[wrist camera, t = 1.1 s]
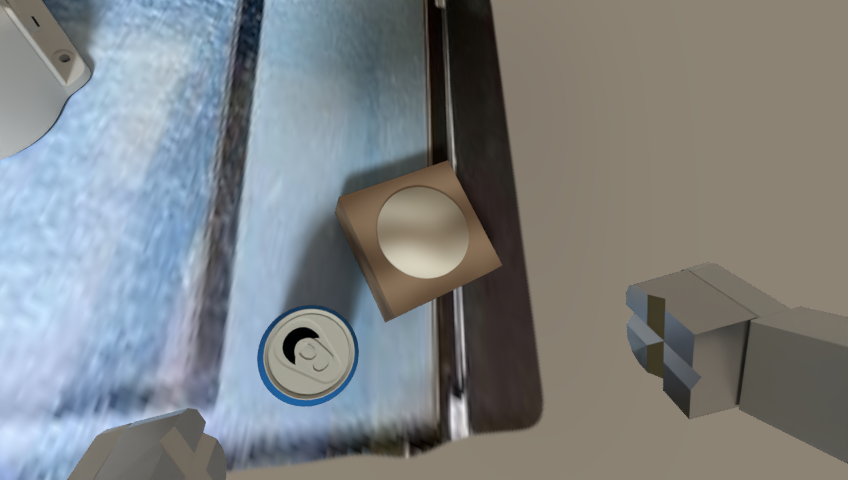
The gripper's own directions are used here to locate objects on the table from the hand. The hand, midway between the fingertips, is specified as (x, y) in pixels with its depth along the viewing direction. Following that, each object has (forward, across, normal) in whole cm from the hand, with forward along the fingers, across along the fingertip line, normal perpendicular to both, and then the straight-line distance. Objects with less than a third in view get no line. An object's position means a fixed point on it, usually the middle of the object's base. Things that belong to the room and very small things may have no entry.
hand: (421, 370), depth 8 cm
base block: (+34, 0, +14) cm, 36 cm away
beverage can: (+25, +12, +18) cm, 33 cm away
